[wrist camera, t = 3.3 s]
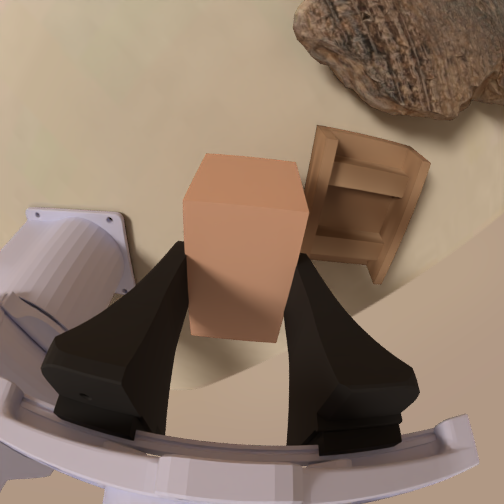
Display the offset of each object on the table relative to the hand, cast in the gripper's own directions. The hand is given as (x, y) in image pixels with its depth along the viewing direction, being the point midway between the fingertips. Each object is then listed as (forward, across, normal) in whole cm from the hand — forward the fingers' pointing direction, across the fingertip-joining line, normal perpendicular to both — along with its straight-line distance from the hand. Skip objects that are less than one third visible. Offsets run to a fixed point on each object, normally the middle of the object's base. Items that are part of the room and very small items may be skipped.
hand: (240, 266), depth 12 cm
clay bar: (+3, 0, 0) cm, 3 cm away
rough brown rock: (+8, -10, -14) cm, 19 cm away
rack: (+7, -7, 0) cm, 10 cm away
